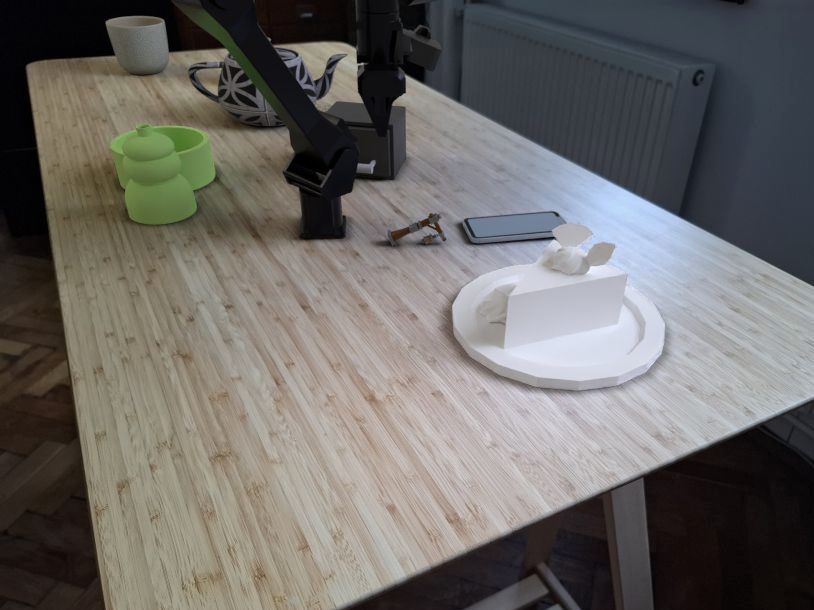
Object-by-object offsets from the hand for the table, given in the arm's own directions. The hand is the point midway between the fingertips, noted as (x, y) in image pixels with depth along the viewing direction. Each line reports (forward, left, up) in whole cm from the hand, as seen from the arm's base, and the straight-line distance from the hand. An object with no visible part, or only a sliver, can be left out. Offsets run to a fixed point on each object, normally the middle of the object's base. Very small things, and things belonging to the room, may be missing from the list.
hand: (381, 127), depth 100 cm
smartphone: (-10, -19, -12) cm, 25 cm away
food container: (+7, +34, -12) cm, 37 cm away
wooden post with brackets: (-13, -4, -12) cm, 18 cm away
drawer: (+13, +3, -11) cm, 18 cm away
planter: (+79, +53, -12) cm, 96 cm away
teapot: (+44, +20, -12) cm, 50 cm away
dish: (-35, -19, -12) cm, 42 cm away
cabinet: (+17, +2, -12) cm, 21 cm away
